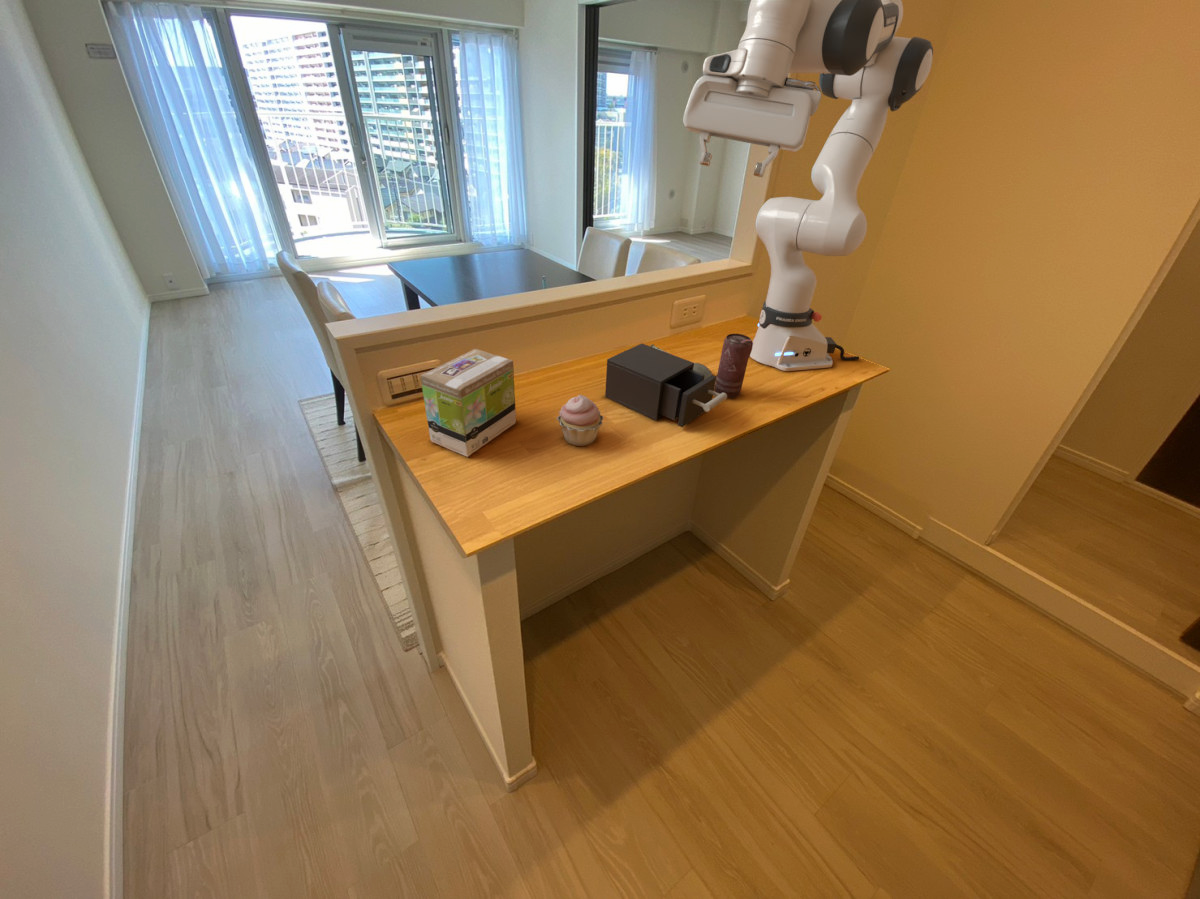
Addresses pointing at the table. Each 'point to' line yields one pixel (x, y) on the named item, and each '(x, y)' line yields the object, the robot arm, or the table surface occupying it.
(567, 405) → the cupcake
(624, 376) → the black drawer box
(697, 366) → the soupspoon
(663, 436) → the table surface
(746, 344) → the can
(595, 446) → the table surface
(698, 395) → the dark drawer with handle
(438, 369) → the tea box
